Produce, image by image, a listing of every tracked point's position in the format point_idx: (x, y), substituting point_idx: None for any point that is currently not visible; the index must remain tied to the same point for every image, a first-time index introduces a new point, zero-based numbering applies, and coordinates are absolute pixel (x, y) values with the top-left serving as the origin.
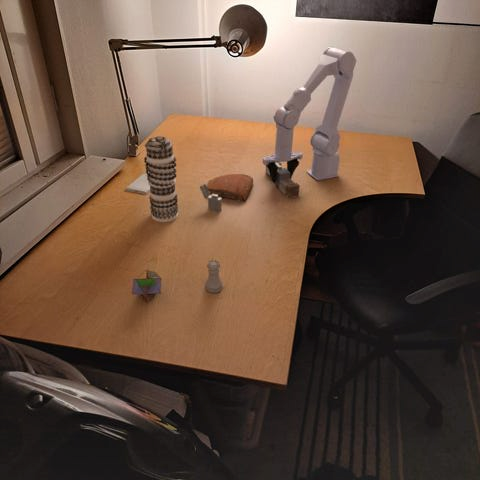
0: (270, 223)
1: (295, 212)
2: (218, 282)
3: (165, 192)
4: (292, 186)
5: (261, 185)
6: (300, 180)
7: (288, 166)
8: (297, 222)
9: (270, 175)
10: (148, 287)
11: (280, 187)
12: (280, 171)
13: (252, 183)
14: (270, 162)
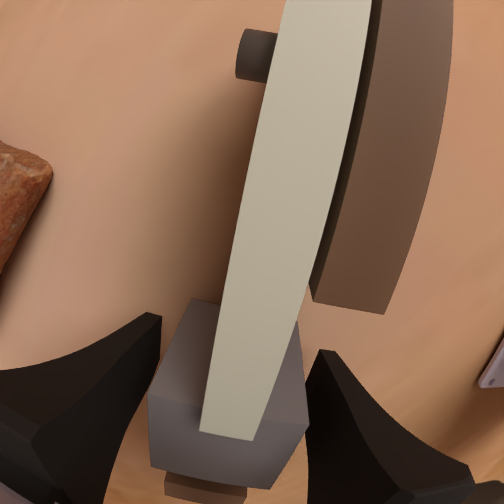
0: None
1: (147, 487)
2: None
3: None
4: (189, 499)
5: (96, 244)
6: (425, 341)
7: (341, 457)
8: (127, 500)
9: (115, 335)
10: None
11: None
12: (186, 447)
13: (13, 243)
14: (2, 489)
